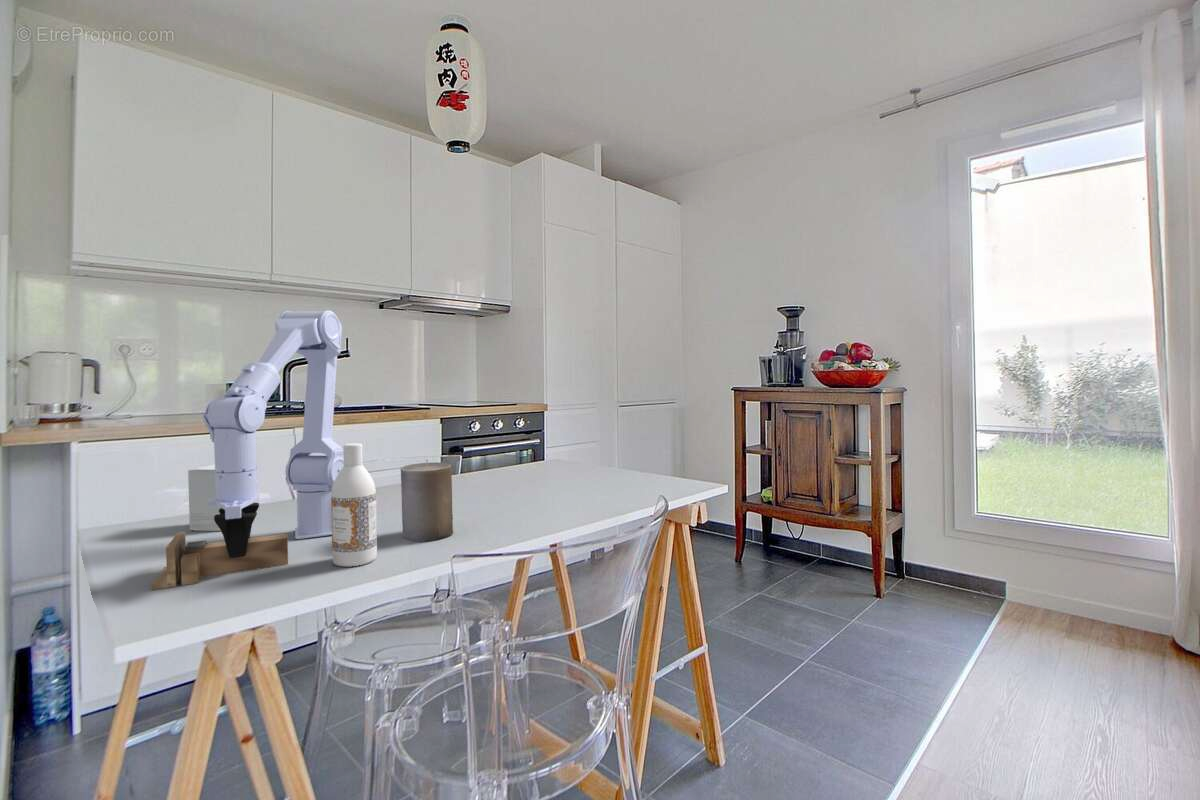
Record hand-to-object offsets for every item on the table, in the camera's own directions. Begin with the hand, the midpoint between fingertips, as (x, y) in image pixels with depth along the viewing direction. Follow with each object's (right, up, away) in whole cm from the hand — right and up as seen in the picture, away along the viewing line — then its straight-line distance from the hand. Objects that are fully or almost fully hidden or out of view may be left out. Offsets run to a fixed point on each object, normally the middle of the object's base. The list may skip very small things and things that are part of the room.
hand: (239, 552), depth 91 cm
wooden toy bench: (-7, -3, -4) cm, 8 cm away
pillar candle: (+25, -2, +19) cm, 32 cm away
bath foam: (+17, -3, +4) cm, 18 cm away
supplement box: (-21, -2, +25) cm, 33 cm away
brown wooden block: (0, -3, 0) cm, 3 cm away
